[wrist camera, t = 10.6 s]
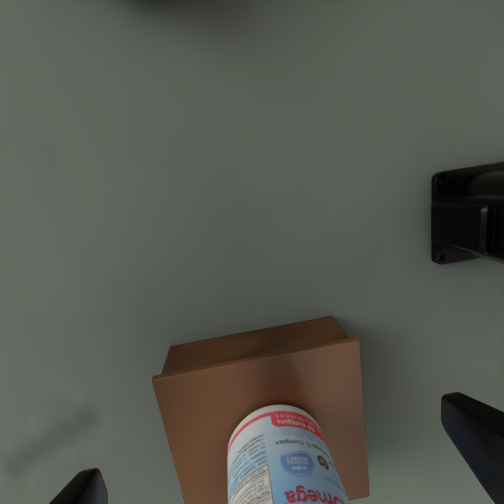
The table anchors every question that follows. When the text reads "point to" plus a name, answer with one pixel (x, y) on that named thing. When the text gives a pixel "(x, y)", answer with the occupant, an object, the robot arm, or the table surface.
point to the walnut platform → (262, 399)
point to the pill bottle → (281, 460)
